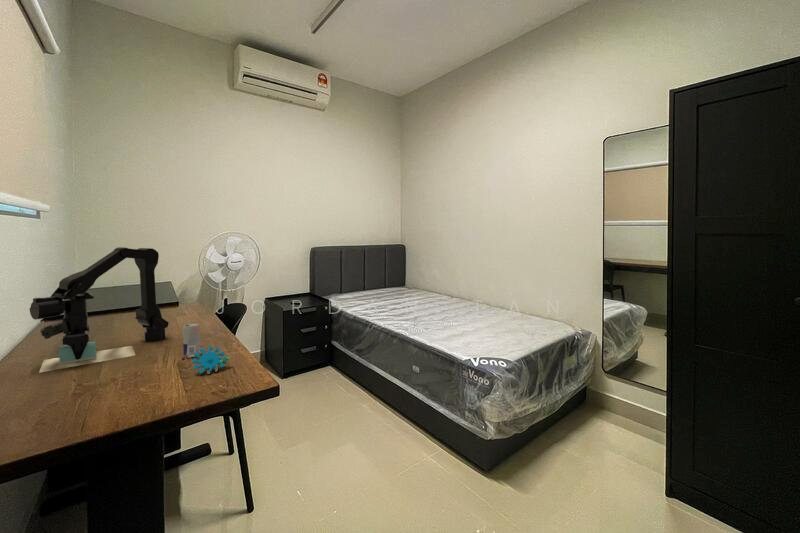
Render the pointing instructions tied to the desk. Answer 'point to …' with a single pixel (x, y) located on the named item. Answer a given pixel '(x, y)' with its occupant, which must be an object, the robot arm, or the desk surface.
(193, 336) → the energy drink
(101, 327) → the desk surface
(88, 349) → the sanding block
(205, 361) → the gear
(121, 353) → the board
